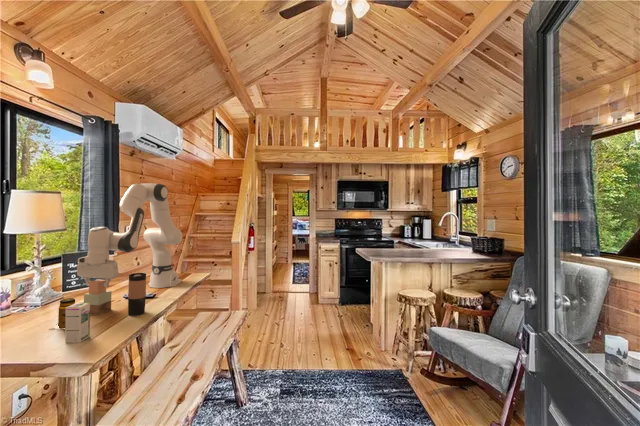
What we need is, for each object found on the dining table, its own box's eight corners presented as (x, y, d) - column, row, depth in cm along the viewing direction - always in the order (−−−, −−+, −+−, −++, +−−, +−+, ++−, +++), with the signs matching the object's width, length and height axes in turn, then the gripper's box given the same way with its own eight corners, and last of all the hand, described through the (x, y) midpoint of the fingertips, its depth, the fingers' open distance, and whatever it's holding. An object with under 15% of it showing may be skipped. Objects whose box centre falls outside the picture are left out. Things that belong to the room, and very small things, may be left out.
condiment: (71, 328, 133) (71, 301, 133) (48, 329, 131) (49, 302, 131) (80, 322, 140) (81, 296, 140) (58, 323, 138) (59, 297, 138)
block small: (97, 290, 156) (97, 279, 156) (106, 291, 156) (106, 280, 155) (88, 293, 151) (89, 281, 151) (97, 294, 151) (98, 282, 150)
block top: (96, 299, 158) (97, 289, 158) (111, 300, 157) (111, 290, 157) (83, 304, 150) (84, 294, 150) (98, 305, 150) (99, 295, 149)
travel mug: (142, 310, 159) (144, 272, 159) (147, 314, 154) (148, 275, 153) (125, 313, 154) (127, 274, 153) (129, 317, 148) (130, 277, 148)
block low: (97, 308, 158) (97, 299, 158) (111, 310, 157) (111, 300, 157) (83, 314, 150) (83, 304, 150) (97, 315, 149) (98, 305, 149)
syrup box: (80, 343, 121) (81, 307, 120) (64, 343, 120) (65, 306, 120) (89, 336, 126) (90, 302, 126) (74, 336, 126) (75, 302, 125)
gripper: (122, 259, 155) (121, 286, 155) (85, 256, 157) (85, 283, 158) (112, 261, 149) (111, 289, 149) (74, 258, 151) (73, 286, 151)
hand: (97, 286), depth 153 cm, fingers open, 8 cm apart
